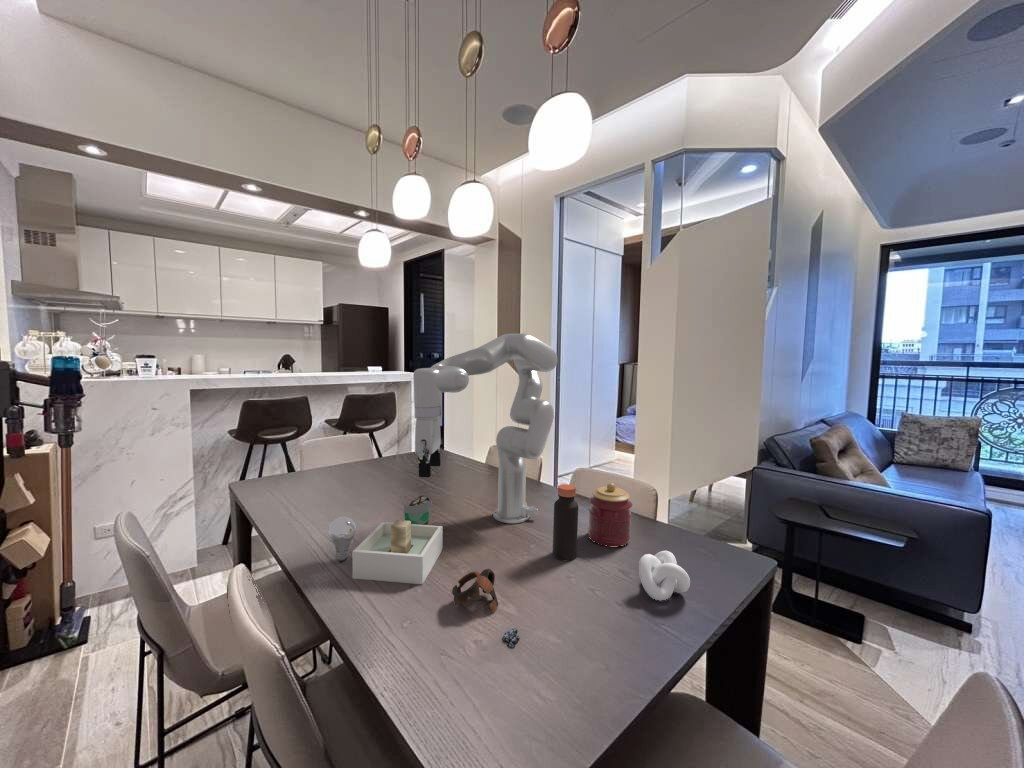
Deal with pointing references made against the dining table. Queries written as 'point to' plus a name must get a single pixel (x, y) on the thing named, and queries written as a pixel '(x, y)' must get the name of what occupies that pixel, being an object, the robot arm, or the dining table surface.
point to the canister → (610, 516)
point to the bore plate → (416, 544)
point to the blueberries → (511, 638)
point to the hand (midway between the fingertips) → (430, 471)
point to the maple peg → (401, 536)
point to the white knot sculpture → (662, 575)
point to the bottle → (565, 523)
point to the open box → (397, 557)
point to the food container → (418, 510)
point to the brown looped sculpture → (476, 588)
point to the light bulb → (342, 536)
